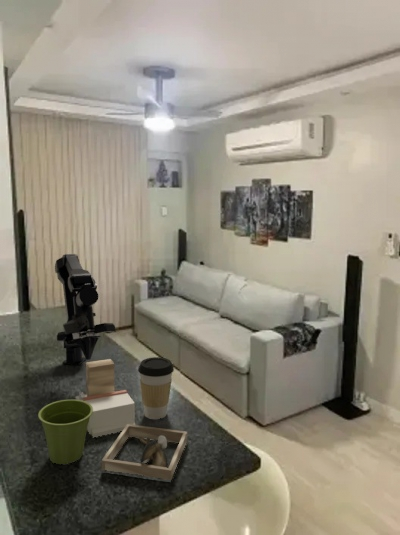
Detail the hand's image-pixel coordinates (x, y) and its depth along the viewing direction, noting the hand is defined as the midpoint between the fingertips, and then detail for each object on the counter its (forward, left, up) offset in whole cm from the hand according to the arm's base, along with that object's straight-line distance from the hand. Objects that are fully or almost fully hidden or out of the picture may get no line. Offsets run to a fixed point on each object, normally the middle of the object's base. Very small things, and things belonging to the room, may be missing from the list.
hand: (88, 359), depth 132 cm
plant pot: (+35, +12, -9) cm, 38 cm away
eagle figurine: (+34, +32, -9) cm, 47 cm away
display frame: (+31, +30, -9) cm, 44 cm away
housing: (+15, +11, -9) cm, 21 cm away
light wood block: (+12, +9, -8) cm, 17 cm away
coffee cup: (+11, +26, -9) cm, 29 cm away
